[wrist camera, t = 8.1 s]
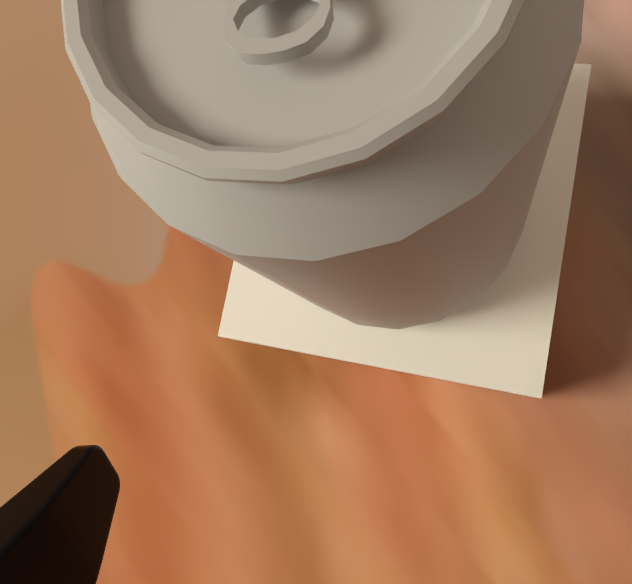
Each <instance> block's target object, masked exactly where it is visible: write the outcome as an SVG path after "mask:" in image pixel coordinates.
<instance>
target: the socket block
mask: <svg viewBox="0 0 632 584" xmlns="http://www.w3.org/2000/svg"><path fill="white" fill-rule="evenodd" d="M590 71H591V64H577V63H574V65H573V69H572V72H571V75H570V78H569V82H568V85H567V88H566V91H565V95H564V98H563V101H562V104H561V108H560V111H559V114H558V117H557V121H556V124H555V127H554V130H553V134H552V137H551V140H550V143H549V147H548V150H547V153H546V156H545V160H544V163H543V166H542V170H541V173H540V176H539V179H538V183H537V186H536V189H535V192H534V196H533V199H532V202H531V205H530V209H529V212H528V215H527V218H526V222H525V225H524V228H523V231H522V233H521V236H520V238H519V240H518V242H517V244H516V247H515V249H514V251H513V253H512V255H511V258H510V260H509V262H508V264H507V267H506V269H505V270H504V271H503V272H502V273H501V274H500V275H499V276H498V277H497V279H496V280H495V281H494V282H493V283H492V284H491V285H490V286H489V287H488V288H487V289H486V290H485V291H484V293H483V294H482V295H481V296H480V297H479V298H478V299H477V300H476V301H474V302H472V303H471V304H469V305H467V306H465V307H463V308H462V309H460V310H458V311H456V312H454V313H453V314H451V315H449V316H447V317H446V318H444V319H442V320H440V321H437V322H432V323H427V324H422V325H418V326H413V327H408V328H403V329H390V328H381V327H372V326H363V325H357V324H355V323H353V322H350V321H348V320H346V319H344V318H342V317H340V316H337V315H335V314H333V313H331V312H329V311H326V310H324V309H322V308H320V307H319V306H317V305H315V304H313V303H311V302H309V301H308V300H306V299H304V298H302V297H300V296H298V295H296V294H295V293H293V292H291V291H289V290H287V289H285V288H284V287H282V286H280V285H278V284H276V283H274V282H273V281H271V280H269V279H267V278H265V277H263V276H262V275H260V274H258V273H256V272H254V271H252V270H251V269H249V268H247V267H245V266H243V265H241V264H239V263H238V262H236V261H234V262H233V267H232V272H231V276H230V281H229V286H228V291H227V295H226V300H225V305H224V309H223V314H222V319H221V324H220V328H219V333H218V336H220V337H225V338H229V339H234V340H239V341H243V342H248V343H253V344H258V345H263V346H268V347H274V348H279V349H284V350H289V351H294V352H299V353H305V354H310V355H315V356H320V357H325V358H331V359H336V360H341V361H346V362H351V363H356V364H362V365H367V366H372V367H377V368H382V369H388V370H393V371H398V372H403V373H408V374H413V375H419V376H424V377H429V378H434V379H439V380H445V381H450V382H455V383H460V384H465V385H470V386H476V387H481V388H486V389H491V390H496V391H501V392H507V393H512V394H517V395H522V396H527V397H533V398H542V392H543V386H544V379H545V372H546V366H547V359H548V352H549V345H550V339H551V332H552V325H553V319H554V312H555V305H556V299H557V292H558V285H559V278H560V272H561V265H562V258H563V252H564V245H565V238H566V232H567V225H568V218H569V211H570V205H571V198H572V191H573V185H574V178H575V171H576V165H577V158H578V151H579V144H580V138H581V131H582V124H583V118H584V111H585V104H586V97H587V91H588V84H589V77H590Z"/></svg>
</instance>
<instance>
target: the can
mask: <svg viewBox="0 0 632 584" xmlns="http://www.w3.org/2000/svg"><path fill="white" fill-rule="evenodd" d="M61 6H62V17H63V27H64V38H65V48H66V52H67V54H68V56H69V58H70V60H71V62H72V64H73V67H74V69H75V71H76V73H77V75H78V77H79V79H80V82H81V83H82V86H83V88H84V90H85V92H86V94H87V97H88V99H89V101H90V104H91V114H92V118H93V120H94V123H95V125H96V127H97V129H98V131H99V133H100V136H101V138H102V140H103V142H104V144H105V146H106V148H107V151H108V153H109V155H110V157H111V159H112V161H113V164H114V165H115V168H116V170H117V172H118V174H119V176H120V178H121V179H122V180H124V182H126V184H128V185H129V187H131V188H132V189H133V190H134V191H135V192H136V193H137V194H138V195H139V196H140V197H141V198H142V199H143V200H144V201H145V202H146V203H147V204H148V205H149V206H150V207H151V208H152V209H153V210H154V211H155V212H156V213H157V214H158V215H159V216H160V217H161V218H162V219H163V220H164V221H165V222H166V223H167V224H168V225H170V226H171V227H173V228H175V229H177V230H179V231H181V232H182V233H184V234H186V235H188V236H190V237H192V238H194V239H195V240H197V241H199V242H201V243H203V244H205V245H206V246H208V247H210V248H212V249H214V250H216V251H217V252H219V253H221V254H223V255H225V256H227V257H228V258H230V259H232V260H234V261H236V262H238V263H239V264H241V265H243V266H245V267H247V268H249V269H251V270H252V271H254V272H256V273H258V274H260V275H262V276H263V277H265V278H267V279H269V280H271V281H273V282H274V283H276V284H278V285H280V286H282V287H284V288H285V289H287V290H289V291H291V292H293V293H295V294H296V295H298V296H300V297H302V298H304V299H306V300H308V301H309V302H311V303H313V304H315V305H317V306H319V307H320V308H322V309H324V310H326V311H329V312H331V313H333V314H335V315H337V316H340V317H342V318H344V319H346V320H348V321H350V322H353V323H355V324H357V325H363V326H372V327H381V328H390V329H403V328H408V327H413V326H418V325H422V324H427V323H432V322H437V321H440V320H442V319H444V318H446V317H447V316H449V315H451V314H453V313H454V312H456V311H458V310H460V309H462V308H463V307H465V306H467V305H469V304H471V303H472V302H474V301H476V300H477V299H478V298H479V297H480V296H481V295H482V294H483V293H484V291H485V290H486V289H487V288H488V287H489V286H490V285H491V284H492V283H493V282H494V281H495V280H496V279H497V277H498V276H499V275H500V274H501V273H502V272H503V271H504V270H505V269H506V267H507V264H508V262H509V260H510V258H511V255H512V253H513V251H514V249H515V247H516V244H517V242H518V240H519V238H520V236H521V233H522V231H523V228H524V225H525V222H526V218H527V215H528V212H529V209H530V205H531V202H532V199H533V196H534V192H535V189H536V186H537V183H538V179H539V176H540V173H541V170H542V166H543V163H544V160H545V156H546V153H547V150H548V147H549V143H550V140H551V137H552V134H553V130H554V127H555V124H556V121H557V117H558V114H559V111H560V108H561V104H562V101H563V98H564V95H565V91H566V88H567V85H568V82H569V78H570V75H571V72H572V69H573V65H574V62H575V59H576V56H577V52H578V49H579V46H580V43H581V31H582V19H583V6H584V0H61Z"/></svg>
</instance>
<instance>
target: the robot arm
mask: <svg viewBox="0 0 632 584" xmlns="http://www.w3.org/2000/svg"><path fill="white" fill-rule="evenodd" d="M119 489H120V480H119V476H118V474H117V472H116V471H115V469H114V467H113V466H112V464H111V462H110V461H109V459H108V457H107V456H106V454H105V452H104V451H103V449H102V448H101V447H99V446H97V445H85V446H76V447H74V448H72V449H71V450H69V451H68V452H67V453H66V454H65V455H63V456H62V457H61V458H60V459H58V460H57V461H56V462H55V463H54V464H52V465H51V466H50V467H49V468H48V469H46V470H45V471H44V472H43V473H42V474H41V475H39V476H38V477H37V478H35V479H34V480H33V481H32V482H31V483H29V484H28V485H27V486H26V487H25V488H23V489H22V490H21V491H20V492H19V493H17V494H16V495H15V496H14V497H12V498H11V499H10V500H9V501H8V502H6V503H5V504H4V505H3V506H2V507H0V584H96V581H97V578H98V574H99V571H100V567H101V563H102V559H103V555H104V551H105V547H106V543H107V539H108V535H109V531H110V527H111V523H112V519H113V515H114V511H115V506H116V502H117V498H118V494H119Z"/></svg>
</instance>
